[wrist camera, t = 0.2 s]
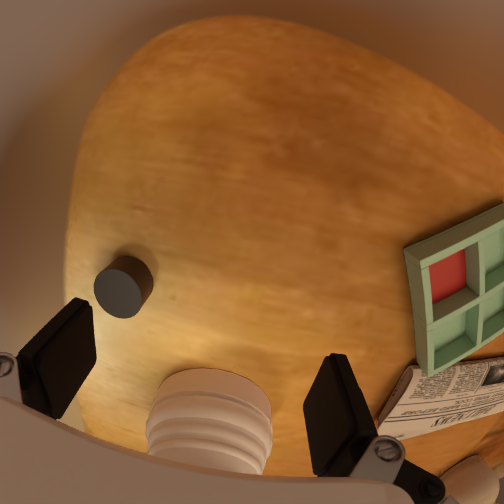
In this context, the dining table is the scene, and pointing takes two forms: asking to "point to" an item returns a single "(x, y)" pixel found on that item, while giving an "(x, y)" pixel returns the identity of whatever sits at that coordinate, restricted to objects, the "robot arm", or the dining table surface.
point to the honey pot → (211, 421)
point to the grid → (457, 290)
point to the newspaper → (443, 398)
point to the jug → (471, 482)
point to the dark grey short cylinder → (123, 287)
